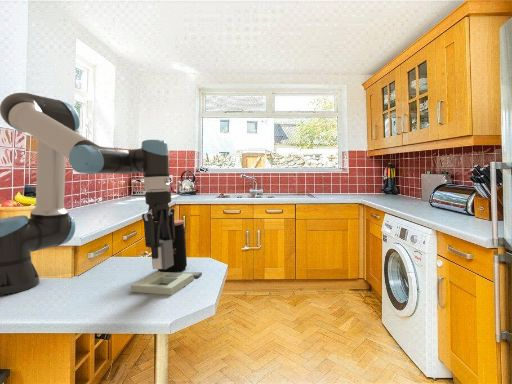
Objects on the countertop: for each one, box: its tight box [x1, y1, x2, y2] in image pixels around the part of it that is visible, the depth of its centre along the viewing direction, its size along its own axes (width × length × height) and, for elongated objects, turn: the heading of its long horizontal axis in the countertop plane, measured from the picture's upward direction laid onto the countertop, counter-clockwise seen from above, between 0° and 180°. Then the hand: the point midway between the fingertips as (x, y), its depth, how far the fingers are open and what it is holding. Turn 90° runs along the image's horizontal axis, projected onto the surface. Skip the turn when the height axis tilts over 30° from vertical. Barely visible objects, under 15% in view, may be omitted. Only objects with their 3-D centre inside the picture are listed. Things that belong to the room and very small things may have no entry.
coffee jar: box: [157, 219, 188, 273], centre depth 110 cm, size 11×11×18 cm
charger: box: [151, 240, 174, 269], centre depth 92 cm, size 4×4×8 cm
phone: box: [181, 271, 203, 279], centre depth 102 cm, size 7×4×1 cm, turn 82°
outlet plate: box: [130, 271, 195, 296], centre depth 94 cm, size 14×13×2 cm
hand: (162, 265), depth 92 cm, fingers closed on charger, 4 cm apart
